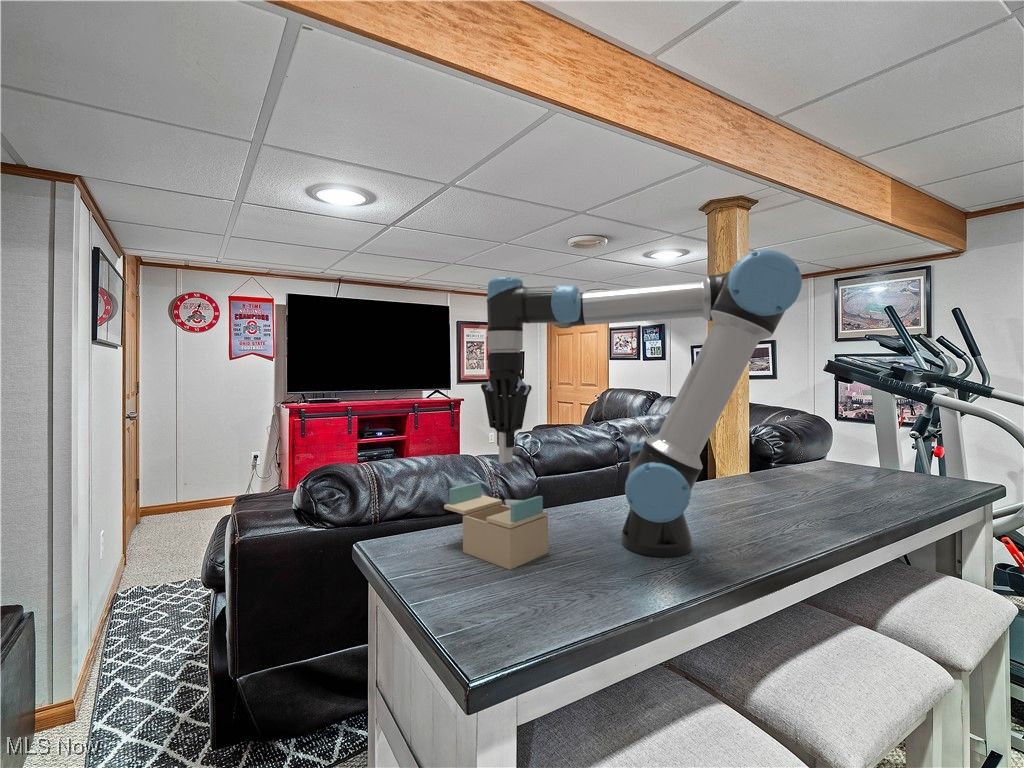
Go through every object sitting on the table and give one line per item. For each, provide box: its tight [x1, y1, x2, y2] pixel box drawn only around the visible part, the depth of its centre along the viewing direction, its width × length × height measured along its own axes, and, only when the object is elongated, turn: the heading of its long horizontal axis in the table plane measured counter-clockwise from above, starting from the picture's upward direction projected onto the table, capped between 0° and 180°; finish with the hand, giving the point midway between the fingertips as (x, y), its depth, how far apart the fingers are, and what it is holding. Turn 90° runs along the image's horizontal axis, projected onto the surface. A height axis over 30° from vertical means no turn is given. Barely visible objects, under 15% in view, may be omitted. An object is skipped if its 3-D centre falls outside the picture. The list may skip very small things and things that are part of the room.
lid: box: [443, 481, 503, 516], centre depth 115 cm, size 7×12×4 cm, turn 137°
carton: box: [462, 503, 549, 571], centre depth 109 cm, size 14×12×8 cm
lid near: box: [486, 495, 549, 528], centre depth 106 cm, size 7×12×4 cm, turn 137°
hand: (505, 462), depth 108 cm, fingers closed
